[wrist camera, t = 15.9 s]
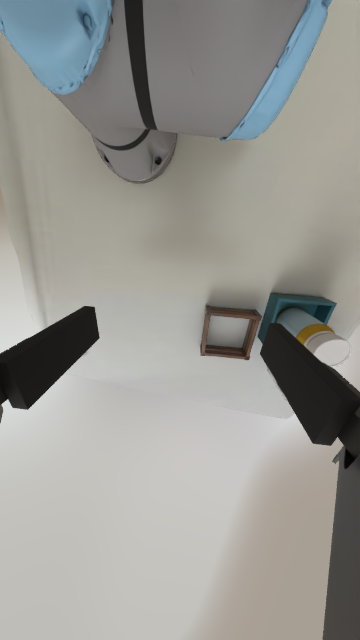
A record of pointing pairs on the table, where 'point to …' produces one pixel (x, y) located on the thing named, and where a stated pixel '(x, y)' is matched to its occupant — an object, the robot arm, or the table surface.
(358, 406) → the robot arm
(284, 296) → the basin
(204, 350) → the crate
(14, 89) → the table surface
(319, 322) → the bottle
